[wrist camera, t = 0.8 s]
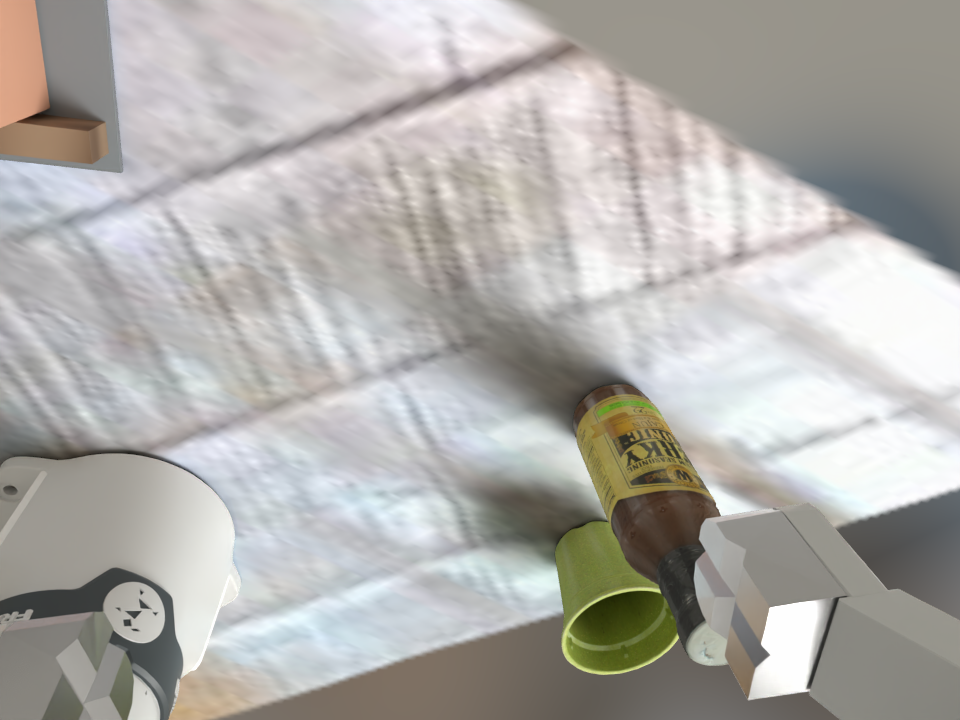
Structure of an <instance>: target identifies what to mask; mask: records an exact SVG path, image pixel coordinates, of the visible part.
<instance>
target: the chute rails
mask: <svg viewBox="0 0 960 720" xmlns="http://www.w3.org/2000/svg"><path fill="white" fill-rule="evenodd" d="M108 153H109V150H108V140H107V130H106V122H101V121H93V120H85V119H77V118H69V117H61V116H53V115H45V114H34V115H32V116H29V117H27V118H24V119H22V120H19V121H17V122H14V123H12V124H9V125H7V126H4V127H2V128H0V154H7V155H16V156H25V157H33V158H42V159H51V160H60V161H69V162H78V163H86V164H93V163H95V162H96V161H98V160H99V159H101V158H102V157H104V156H105V155H107V154H108Z"/></svg>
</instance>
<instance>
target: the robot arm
mask: <svg viewBox="0 0 960 720" xmlns="http://www.w3.org/2000/svg"><path fill="white" fill-rule="evenodd" d="M10 485H11V486H14V487H15V488H13V487H11V486H10ZM699 540H700V542H701V543H702V545H703V547H704V549H705V550H706V551H705V552H704V553H703V554H702V555H701V556H700V557H699V559H698V560H697V561H696V562H695V572H694V583H695V590H696V596H697V600H698V603H699V606H700V608H701V611H702V614H703V616H704V618H705V620H706V622H707V624H708V626H709V627H710V629H712V630H713V631H715V632H716V633H718V634H719V635H721V636H722V637H724V638H725V639H727V646H726V651H725V658H726V660H727V662H728V664H729V665H730V667H731V669H732V671H733V673H734V675H735V677H736V678H737V680H738V682H739V684H740V686H741V688H742V690H743V691H744V693H745V695H746V697H747V699H748V700H752V699H759V698H765V697H772V696H779V695H785V694H792V693H799V692H806V691H810V692H809V695H810V696H811V697H813V698H814V699H815V700H816V701H818V702H819V703H820V704H821V705H823V706H824V707H825V708H826V709H828V710H829V711H830V712H831V713H833V714H834V715H835V716H836V717H838V718H839V719H840V720H960V620H958V619H956V618H954V617H952V616H950V615H948V614H946V613H944V612H942V611H941V610H939V609H937V608H935V607H933V606H931V605H929V604H927V603H925V602H923V601H921V600H919V599H917V598H915V597H913V596H911V595H909V594H907V593H906V592H904V591H902V590H900V589H895V590H887V589H886V587H885V586H884V585H883V584H882V583H881V582H880V580H879V579H878V578H877V577H876V576H875V575H874V574H873V572H872V571H871V570H870V569H869V568H868V567H867V565H866V564H865V563H864V562H863V561H862V560H861V558H860V557H859V556H858V555H857V554H856V552H855V551H854V550H853V549H852V548H851V547H850V546H849V544H848V543H847V542H846V541H845V540H844V539H843V537H842V536H841V535H840V534H839V533H838V532H837V530H836V529H835V528H834V527H833V526H832V525H831V523H830V522H829V521H828V520H827V519H826V518H825V516H824V515H823V514H822V513H821V512H820V511H819V509H818V508H817V507H815V506H813V505H812V504H810V503H802V504H796V505H789V506H783V507H777V508H773V509H763V510H757V511H751V512H744V513H738V514H732V515H726V516H720V517H714V518H708V519H705V521H704V522H703V524H702V525H701V530H700V536H699ZM234 542H235V532H234V525H233V522H232V518H231V516H230V513H229V511H228V509H227V508H226V506H225V504H224V503H223V502H222V500H221V499H220V498H219V496H218V495H217V494H216V493H215V492H214V491H213V490H212V489H211V488H210V487H209V486H208V485H206V484H205V483H204V482H203V481H201V480H200V479H198V478H197V477H195V476H194V475H192V474H190V473H189V472H187V471H185V470H183V469H181V468H179V467H177V466H174V465H172V464H169V463H167V462H164V461H160V460H157V459H153V458H149V457H144V456H139V455H131V454H115V453H114V454H96V455H89V456H84V457H78V458H73V459H66V460H52V459H45V458H36V457H12V458H9V459H7V460H6V461H4V462H3V464H2V465H1V467H0V720H168V719H169V716H170V713H172V711H173V709H174V706H175V703H176V699H177V696H178V692H179V682H180V679H181V678H182V677H183V676H185V675H186V674H187V673H189V672H190V671H193V670H195V669H196V668H197V667H198V666H199V664H200V663H201V661H202V658H203V655H204V653H205V650H206V647H207V644H208V641H209V638H210V635H211V632H212V629H213V626H214V623H215V621H216V618H217V615H218V612H219V609H220V608H221V607H223V606H225V605H227V604H228V603H230V602H232V601H233V600H235V599H236V597H237V596H238V593H239V590H240V588H241V579H240V576H239V574H238V571H237V569H236V567H235V565H234V563H233V549H234Z"/></svg>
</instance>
